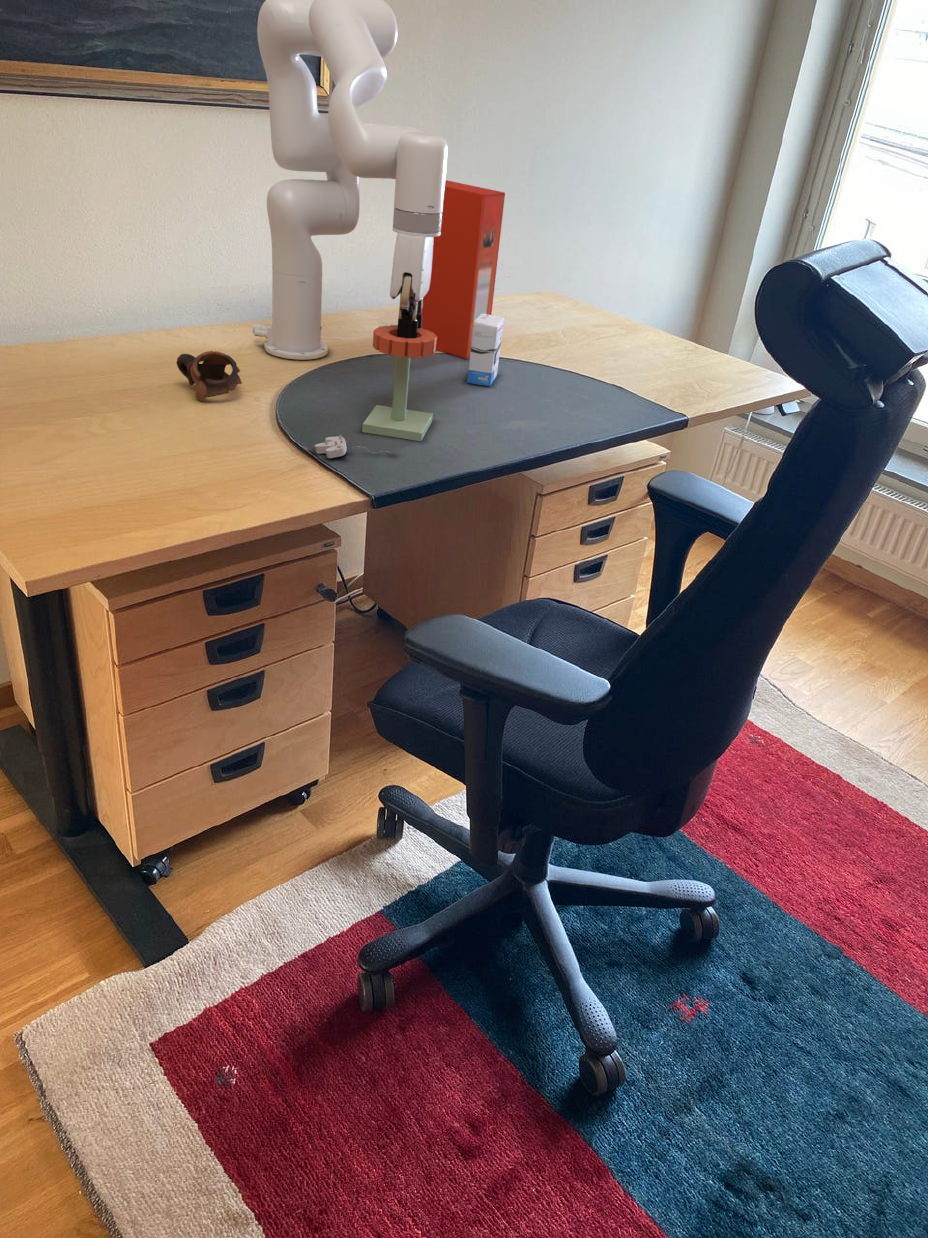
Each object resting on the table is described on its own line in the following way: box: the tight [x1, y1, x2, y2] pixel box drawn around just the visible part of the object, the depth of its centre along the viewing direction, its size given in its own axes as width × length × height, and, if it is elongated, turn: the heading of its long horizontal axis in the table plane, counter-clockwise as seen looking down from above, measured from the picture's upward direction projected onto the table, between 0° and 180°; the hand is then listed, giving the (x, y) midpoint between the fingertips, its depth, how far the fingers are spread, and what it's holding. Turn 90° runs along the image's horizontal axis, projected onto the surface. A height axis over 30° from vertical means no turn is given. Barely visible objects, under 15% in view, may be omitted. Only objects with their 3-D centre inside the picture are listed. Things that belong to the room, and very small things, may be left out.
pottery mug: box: [176, 350, 243, 402], centre depth 162 cm, size 12×10×8 cm
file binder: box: [418, 179, 506, 360], centre depth 196 cm, size 8×17×32 cm, turn 55°
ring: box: [372, 324, 437, 359], centre depth 152 cm, size 10×10×2 cm
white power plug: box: [314, 434, 393, 459], centre depth 147 cm, size 6×12×3 cm, turn 116°
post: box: [361, 356, 433, 442], centre depth 156 cm, size 10×10×12 cm
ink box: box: [466, 314, 506, 388], centre depth 184 cm, size 8×5×12 cm, turn 168°
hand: (408, 339), depth 156 cm, fingers closed on ring, 2 cm apart
